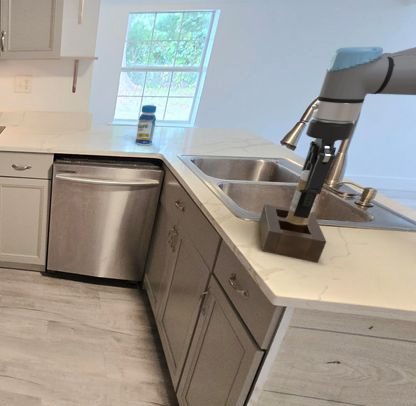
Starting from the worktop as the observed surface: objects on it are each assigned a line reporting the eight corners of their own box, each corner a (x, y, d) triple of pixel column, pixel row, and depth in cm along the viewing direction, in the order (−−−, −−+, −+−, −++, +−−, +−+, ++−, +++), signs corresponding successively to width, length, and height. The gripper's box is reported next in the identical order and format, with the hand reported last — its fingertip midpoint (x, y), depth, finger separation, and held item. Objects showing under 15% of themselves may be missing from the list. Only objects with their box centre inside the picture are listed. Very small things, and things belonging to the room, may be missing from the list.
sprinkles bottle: (309, 227, 90) (328, 176, 85) (285, 223, 93) (303, 173, 87) (306, 220, 94) (324, 171, 88) (284, 216, 96) (300, 168, 91)
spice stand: (306, 230, 104) (313, 211, 102) (317, 262, 89) (326, 241, 87) (258, 222, 110) (264, 204, 107) (262, 251, 95) (269, 230, 92)
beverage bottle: (155, 144, 195) (162, 106, 187) (142, 146, 193) (148, 107, 185) (144, 141, 202) (150, 104, 194) (131, 142, 200) (137, 105, 192)
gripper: (305, 113, 91) (277, 198, 101) (317, 126, 78) (283, 222, 87) (346, 115, 88) (312, 203, 97) (365, 129, 74) (325, 230, 84)
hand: (299, 212), depth 92 cm, fingers closed on sprinkles bottle, 4 cm apart
